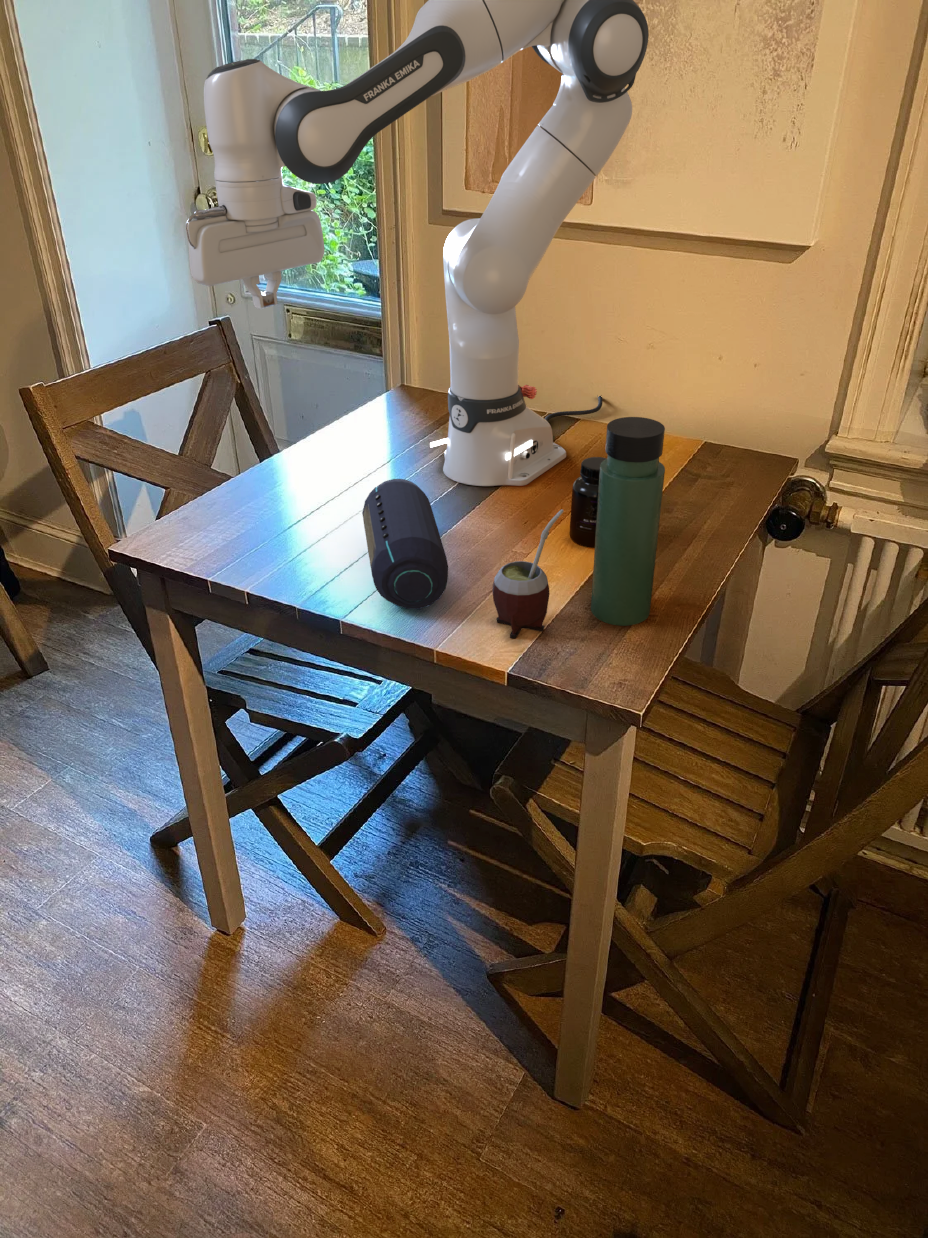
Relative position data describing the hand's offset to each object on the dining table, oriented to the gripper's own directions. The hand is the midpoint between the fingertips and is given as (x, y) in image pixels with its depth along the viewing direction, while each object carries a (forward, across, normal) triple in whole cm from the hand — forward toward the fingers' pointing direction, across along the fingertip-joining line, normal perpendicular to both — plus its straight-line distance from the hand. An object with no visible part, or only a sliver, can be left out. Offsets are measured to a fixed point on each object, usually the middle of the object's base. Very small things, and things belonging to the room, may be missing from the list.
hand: (266, 306), depth 133 cm
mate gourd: (+32, -1, -50) cm, 59 cm away
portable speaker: (+31, -2, -29) cm, 43 cm away
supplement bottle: (+32, +23, -42) cm, 58 cm away
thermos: (+31, +10, -57) cm, 66 cm away
